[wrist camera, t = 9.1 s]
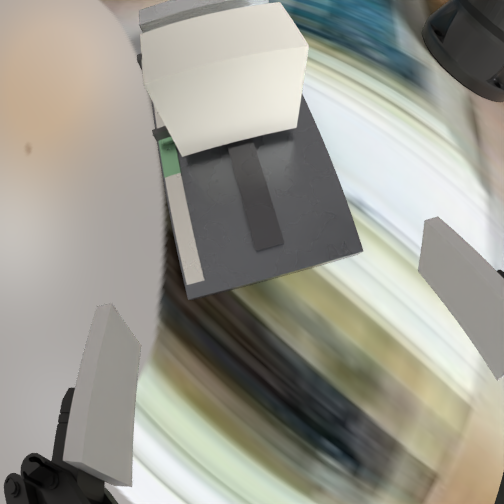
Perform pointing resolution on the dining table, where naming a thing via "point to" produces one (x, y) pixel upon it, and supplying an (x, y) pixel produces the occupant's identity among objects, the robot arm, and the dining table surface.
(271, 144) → the frame
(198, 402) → the dining table surface
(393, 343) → the dining table surface
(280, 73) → the block
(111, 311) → the robot arm
